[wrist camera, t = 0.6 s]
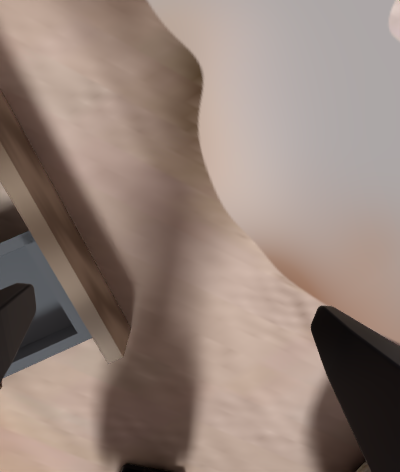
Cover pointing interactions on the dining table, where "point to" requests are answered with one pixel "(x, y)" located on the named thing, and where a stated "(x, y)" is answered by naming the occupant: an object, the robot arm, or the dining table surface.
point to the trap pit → (40, 303)
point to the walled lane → (59, 238)
